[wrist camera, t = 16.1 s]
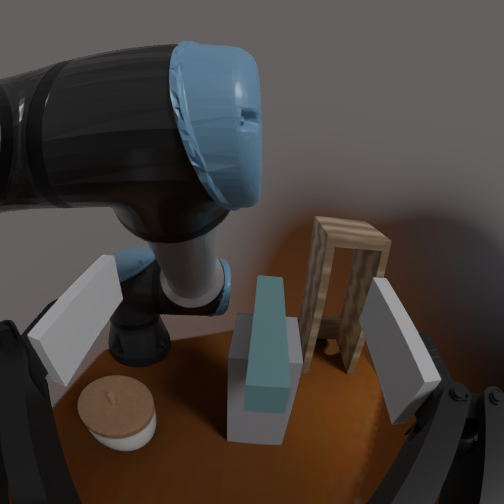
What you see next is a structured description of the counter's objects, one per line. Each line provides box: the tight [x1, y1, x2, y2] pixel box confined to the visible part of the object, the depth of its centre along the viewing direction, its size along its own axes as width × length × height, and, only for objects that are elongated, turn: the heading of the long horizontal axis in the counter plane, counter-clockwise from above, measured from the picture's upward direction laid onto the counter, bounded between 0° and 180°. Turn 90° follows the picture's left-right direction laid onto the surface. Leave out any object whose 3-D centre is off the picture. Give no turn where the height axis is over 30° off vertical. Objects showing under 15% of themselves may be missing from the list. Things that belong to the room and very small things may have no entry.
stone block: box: [227, 313, 303, 445], centre depth 40 cm, size 10×9×20 cm
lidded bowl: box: [77, 375, 156, 451], centre depth 34 cm, size 13×13×11 cm
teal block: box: [244, 275, 291, 414], centre depth 34 cm, size 24×4×4 cm, turn 176°
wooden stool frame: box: [298, 216, 391, 374], centre depth 57 cm, size 15×12×31 cm
